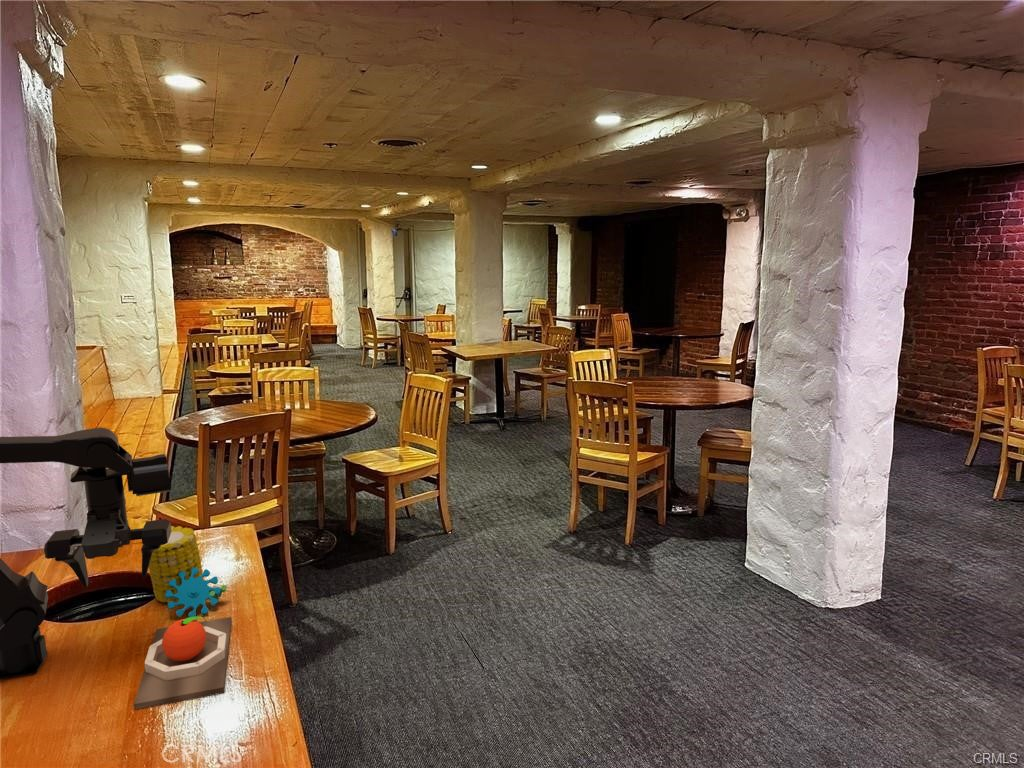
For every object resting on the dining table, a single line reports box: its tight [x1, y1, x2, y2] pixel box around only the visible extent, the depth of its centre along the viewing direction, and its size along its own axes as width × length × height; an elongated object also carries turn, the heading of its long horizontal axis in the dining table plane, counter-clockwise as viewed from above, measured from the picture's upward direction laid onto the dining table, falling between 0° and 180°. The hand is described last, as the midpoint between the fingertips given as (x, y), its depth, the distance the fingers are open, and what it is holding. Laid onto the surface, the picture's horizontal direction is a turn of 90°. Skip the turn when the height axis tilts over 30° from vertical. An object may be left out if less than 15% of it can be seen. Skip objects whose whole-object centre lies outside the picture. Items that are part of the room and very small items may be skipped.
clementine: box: [162, 616, 208, 661], centre depth 116 cm, size 8×7×7 cm
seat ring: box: [144, 626, 227, 680], centre depth 117 cm, size 12×12×2 cm
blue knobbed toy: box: [165, 568, 228, 618], centre depth 134 cm, size 11×6×10 cm
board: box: [133, 616, 233, 711], centre depth 117 cm, size 13×22×1 cm, turn 19°
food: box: [148, 525, 205, 603], centre depth 137 cm, size 15×12×10 cm
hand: (115, 582), depth 120 cm, fingers open, 9 cm apart
